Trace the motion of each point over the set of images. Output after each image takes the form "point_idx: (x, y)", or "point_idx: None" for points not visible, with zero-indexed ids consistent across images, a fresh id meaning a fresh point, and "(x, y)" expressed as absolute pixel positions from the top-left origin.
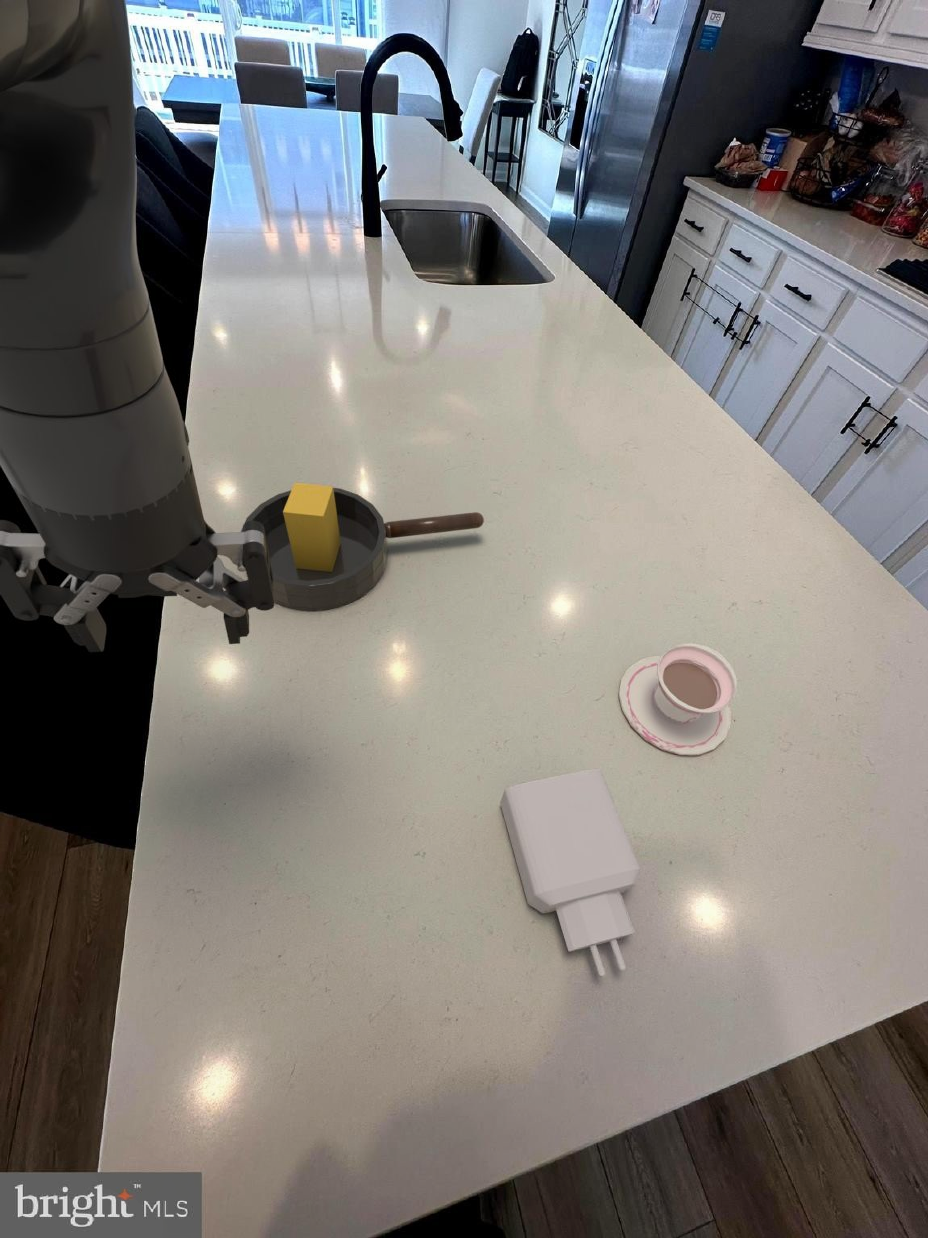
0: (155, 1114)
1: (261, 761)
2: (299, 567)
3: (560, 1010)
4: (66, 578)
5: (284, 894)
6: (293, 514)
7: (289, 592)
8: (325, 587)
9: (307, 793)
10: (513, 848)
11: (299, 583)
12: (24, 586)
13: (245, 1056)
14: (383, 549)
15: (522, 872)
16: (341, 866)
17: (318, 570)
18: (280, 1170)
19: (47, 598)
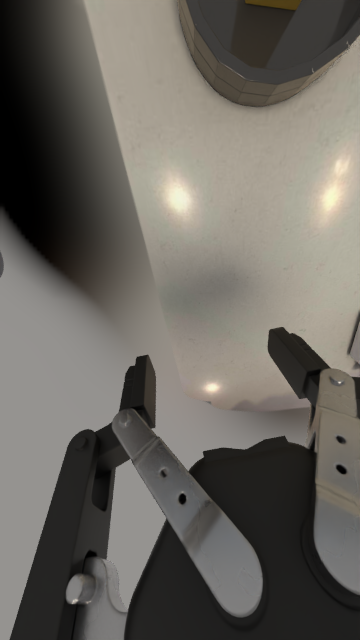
0: (194, 391)
1: (217, 279)
2: (250, 1)
3: None
4: (122, 445)
5: (233, 342)
6: None
7: (246, 90)
8: (297, 81)
9: (245, 299)
10: (357, 335)
11: (266, 78)
12: (107, 539)
13: (220, 383)
14: None
15: (358, 349)
16: (261, 333)
17: (276, 7)
18: (233, 402)
19: (116, 461)
